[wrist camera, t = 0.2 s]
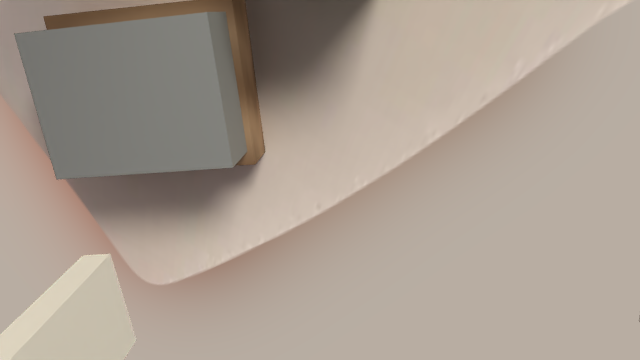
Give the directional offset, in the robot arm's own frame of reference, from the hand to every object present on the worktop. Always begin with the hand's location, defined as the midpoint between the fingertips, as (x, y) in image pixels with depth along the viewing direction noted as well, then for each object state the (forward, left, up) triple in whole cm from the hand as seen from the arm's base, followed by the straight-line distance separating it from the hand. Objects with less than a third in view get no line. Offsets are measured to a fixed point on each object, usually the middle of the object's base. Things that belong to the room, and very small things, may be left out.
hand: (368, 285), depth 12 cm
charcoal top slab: (-2, -16, -24) cm, 29 cm away
